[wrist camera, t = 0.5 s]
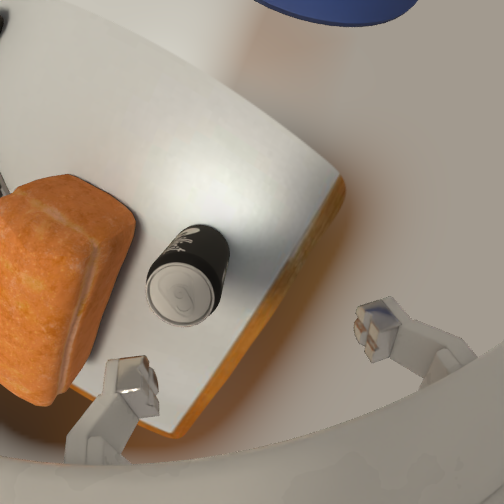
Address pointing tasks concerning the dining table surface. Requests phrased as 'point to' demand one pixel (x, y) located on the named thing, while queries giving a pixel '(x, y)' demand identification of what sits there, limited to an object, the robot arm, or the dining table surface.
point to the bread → (55, 280)
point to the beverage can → (188, 277)
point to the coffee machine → (3, 188)
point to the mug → (1, 23)
